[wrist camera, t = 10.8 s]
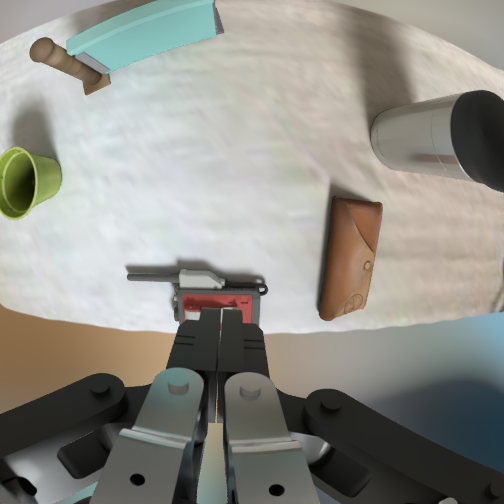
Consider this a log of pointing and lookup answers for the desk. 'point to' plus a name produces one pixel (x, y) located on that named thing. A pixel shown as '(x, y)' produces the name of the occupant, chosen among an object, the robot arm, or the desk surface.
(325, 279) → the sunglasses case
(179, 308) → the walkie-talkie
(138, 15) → the gate
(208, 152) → the desk surface
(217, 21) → the latch post
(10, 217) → the plant pot
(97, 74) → the hinge post
